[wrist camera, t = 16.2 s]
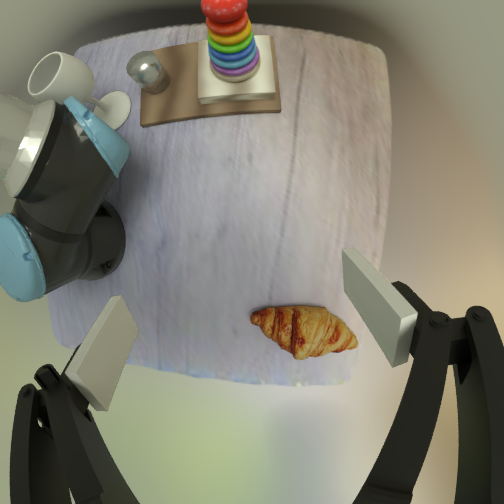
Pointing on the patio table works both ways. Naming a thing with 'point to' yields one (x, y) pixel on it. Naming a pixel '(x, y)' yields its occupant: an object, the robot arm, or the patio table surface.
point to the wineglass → (75, 87)
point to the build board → (188, 91)
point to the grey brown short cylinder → (148, 72)
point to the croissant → (305, 330)
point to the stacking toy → (230, 40)
